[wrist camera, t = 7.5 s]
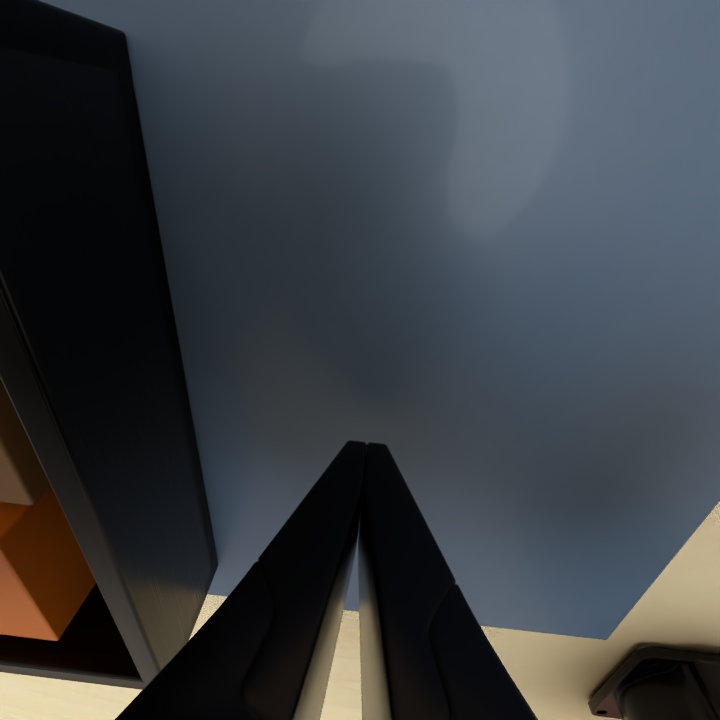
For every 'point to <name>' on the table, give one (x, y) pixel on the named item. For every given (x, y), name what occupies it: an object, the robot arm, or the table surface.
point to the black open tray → (88, 372)
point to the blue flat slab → (448, 273)
